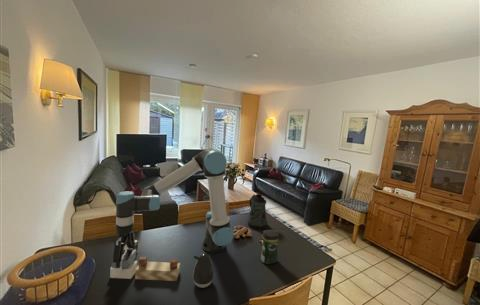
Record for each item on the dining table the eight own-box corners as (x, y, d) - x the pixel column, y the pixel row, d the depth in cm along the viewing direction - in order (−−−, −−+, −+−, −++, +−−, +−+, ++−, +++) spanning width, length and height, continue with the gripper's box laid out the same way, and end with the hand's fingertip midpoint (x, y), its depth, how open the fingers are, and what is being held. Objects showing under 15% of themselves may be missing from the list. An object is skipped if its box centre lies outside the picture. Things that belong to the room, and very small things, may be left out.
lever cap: (135, 257, 108) (135, 247, 107) (126, 268, 99) (126, 258, 98) (122, 256, 107) (122, 247, 107) (111, 267, 98) (111, 257, 98)
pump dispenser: (193, 276, 106) (194, 248, 104) (213, 276, 107) (215, 248, 105) (190, 291, 96) (191, 260, 94) (212, 291, 97) (214, 261, 95)
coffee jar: (272, 255, 128) (275, 227, 126) (278, 263, 121) (281, 233, 119) (258, 257, 126) (261, 228, 124) (263, 265, 118) (266, 234, 116)
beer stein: (261, 231, 158) (264, 200, 155) (240, 224, 168) (242, 194, 165) (270, 224, 172) (273, 195, 169) (250, 217, 182) (252, 190, 179)
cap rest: (137, 269, 107) (137, 260, 106) (131, 278, 101) (131, 269, 100) (117, 268, 107) (117, 259, 106) (110, 277, 100) (110, 268, 100)
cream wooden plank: (179, 272, 108) (180, 255, 107) (176, 280, 101) (177, 263, 100) (141, 270, 107) (141, 253, 106) (135, 279, 101) (135, 261, 100)
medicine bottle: (129, 259, 115) (129, 238, 114) (118, 256, 117) (118, 236, 115) (137, 251, 122) (138, 232, 121) (127, 249, 124) (127, 230, 122)
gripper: (128, 213, 112) (127, 253, 114) (103, 234, 90) (102, 281, 92) (142, 214, 112) (141, 253, 114) (120, 235, 90) (120, 282, 93)
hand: (124, 266), depth 103 cm, fingers closed on lever cap, 9 cm apart
